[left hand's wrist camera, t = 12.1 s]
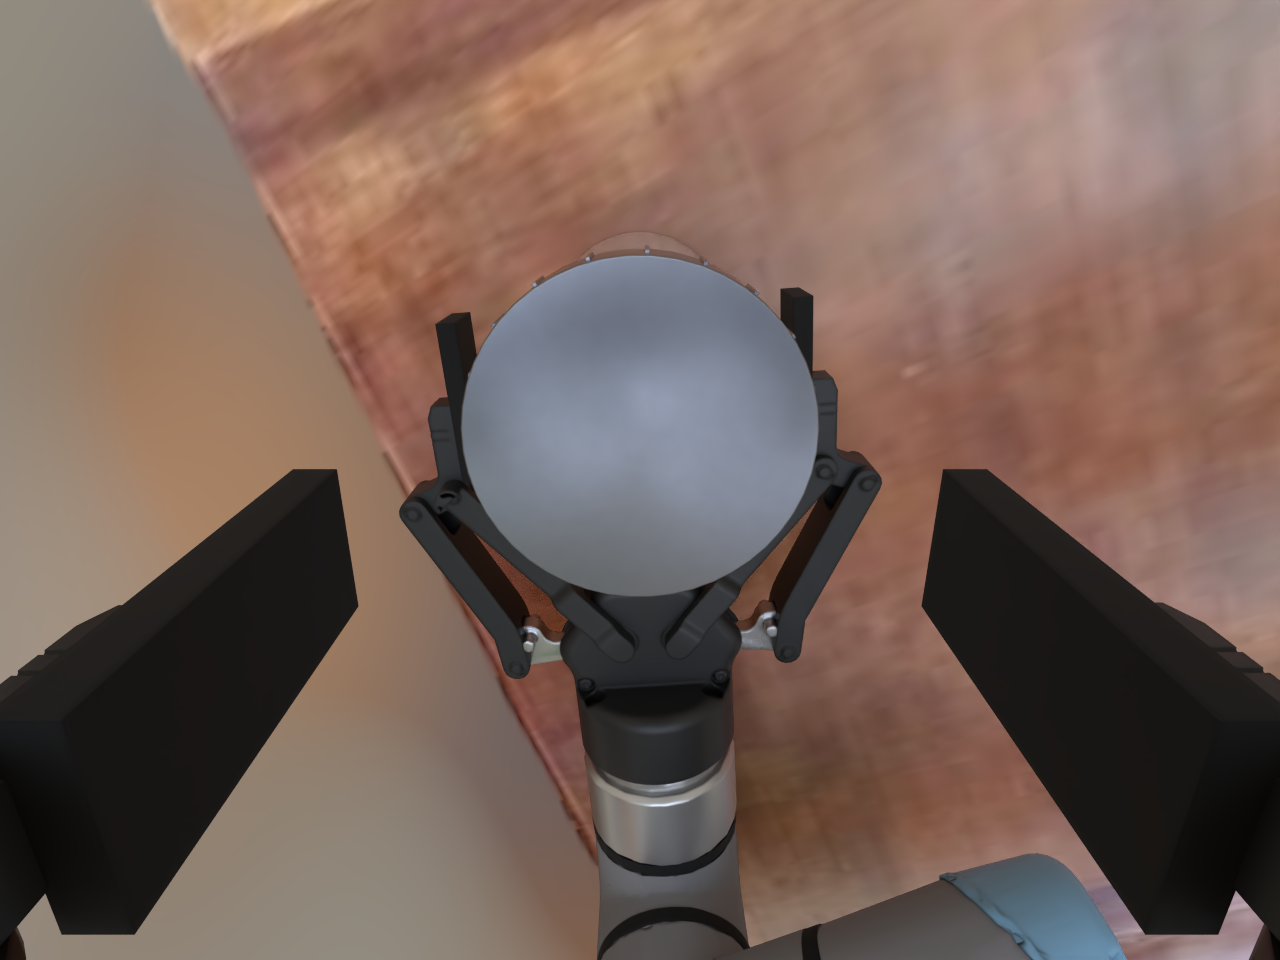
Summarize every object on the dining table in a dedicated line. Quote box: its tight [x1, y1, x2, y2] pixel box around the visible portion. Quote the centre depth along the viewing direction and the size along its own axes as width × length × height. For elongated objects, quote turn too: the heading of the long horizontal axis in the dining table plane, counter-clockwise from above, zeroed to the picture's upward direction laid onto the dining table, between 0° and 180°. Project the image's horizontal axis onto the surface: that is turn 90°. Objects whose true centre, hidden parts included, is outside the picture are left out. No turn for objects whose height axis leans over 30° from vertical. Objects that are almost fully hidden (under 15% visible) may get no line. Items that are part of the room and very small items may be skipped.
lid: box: [461, 245, 819, 597], centre depth 19 cm, size 9×9×2 cm
